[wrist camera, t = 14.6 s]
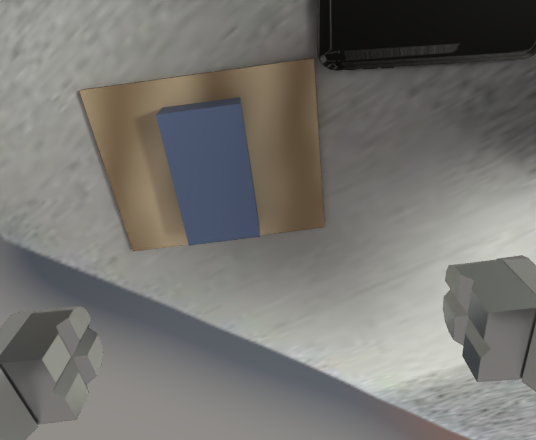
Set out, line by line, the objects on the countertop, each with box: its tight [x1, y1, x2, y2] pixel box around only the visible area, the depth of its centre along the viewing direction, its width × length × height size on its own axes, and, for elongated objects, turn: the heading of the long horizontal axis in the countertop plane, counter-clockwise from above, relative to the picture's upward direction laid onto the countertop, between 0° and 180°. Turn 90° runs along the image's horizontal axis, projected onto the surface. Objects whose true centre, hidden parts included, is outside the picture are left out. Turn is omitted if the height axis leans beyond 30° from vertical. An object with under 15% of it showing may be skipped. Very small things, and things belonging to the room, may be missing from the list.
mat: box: [80, 58, 325, 251], centre depth 30 cm, size 16×13×1 cm
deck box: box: [156, 97, 260, 245], centre depth 29 cm, size 6×2×10 cm
